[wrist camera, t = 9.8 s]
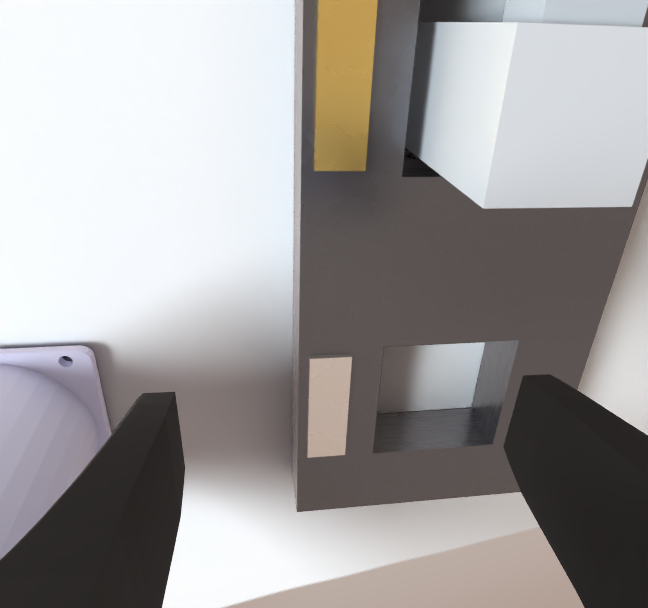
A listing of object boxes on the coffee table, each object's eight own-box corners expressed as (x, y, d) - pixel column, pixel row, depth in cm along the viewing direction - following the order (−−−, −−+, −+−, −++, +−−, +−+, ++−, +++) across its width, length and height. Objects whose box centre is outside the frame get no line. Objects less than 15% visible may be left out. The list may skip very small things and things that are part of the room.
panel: (292, 470, 26) (297, 515, 23) (296, -165, 14) (306, -202, 12) (519, 452, 27) (545, 492, 25) (687, -131, 16) (765, -157, 13)
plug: (405, 147, 19) (483, 208, 13) (421, -4, 16) (524, -18, 10) (509, 148, 19) (631, 206, 13) (538, 2, 17) (702, -8, 11)
